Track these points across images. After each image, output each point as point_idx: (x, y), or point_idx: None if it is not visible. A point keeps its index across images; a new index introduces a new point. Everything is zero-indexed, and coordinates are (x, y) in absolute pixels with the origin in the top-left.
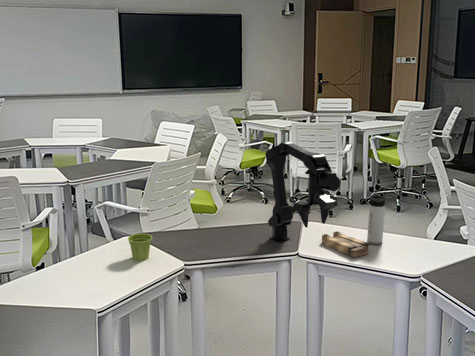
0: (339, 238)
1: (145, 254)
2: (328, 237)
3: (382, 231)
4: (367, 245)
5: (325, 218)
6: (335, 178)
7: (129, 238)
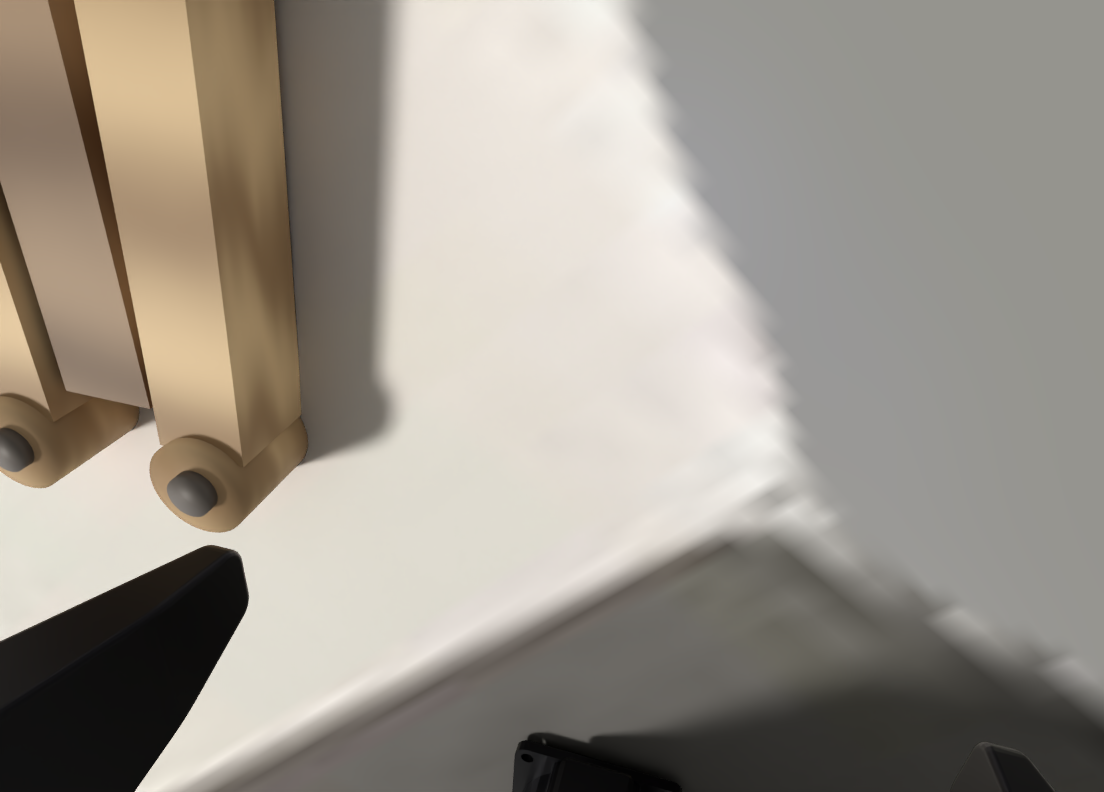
0: (80, 322)
1: None
2: (200, 434)
3: None
4: None
5: (69, 652)
6: None
7: None
